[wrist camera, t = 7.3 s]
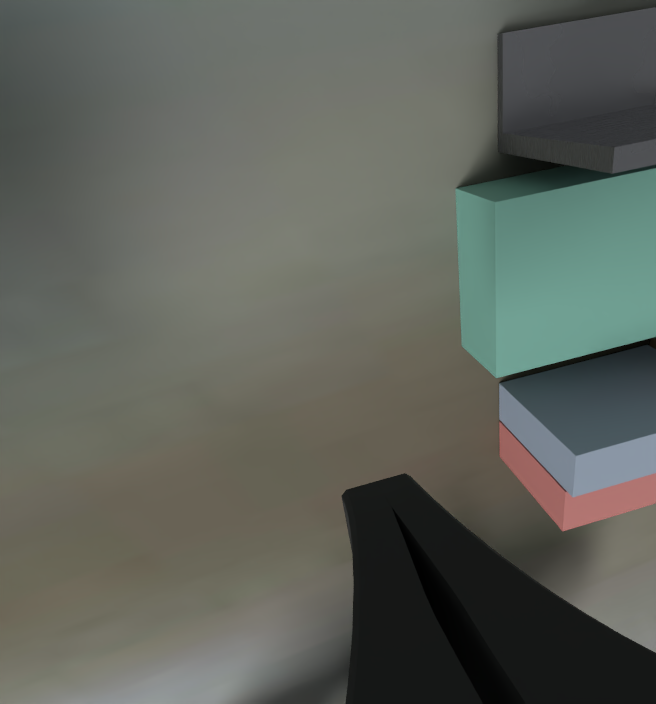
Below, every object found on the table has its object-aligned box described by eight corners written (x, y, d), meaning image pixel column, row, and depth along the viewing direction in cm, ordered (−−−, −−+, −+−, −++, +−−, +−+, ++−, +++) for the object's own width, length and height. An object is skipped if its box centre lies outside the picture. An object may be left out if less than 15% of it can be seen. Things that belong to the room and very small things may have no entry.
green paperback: (458, 342, 21) (496, 377, 18) (451, 186, 18) (494, 202, 16) (639, 297, 22) (699, 325, 19) (658, 144, 19) (732, 151, 17)
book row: (499, 456, 24) (569, 539, 19) (499, 383, 22) (576, 456, 17) (637, 418, 24) (734, 489, 20) (647, 344, 23) (756, 404, 18)
